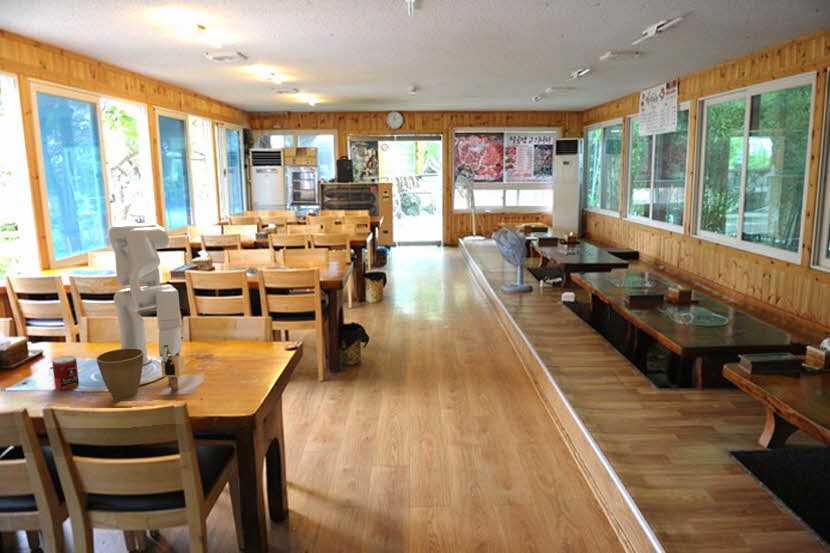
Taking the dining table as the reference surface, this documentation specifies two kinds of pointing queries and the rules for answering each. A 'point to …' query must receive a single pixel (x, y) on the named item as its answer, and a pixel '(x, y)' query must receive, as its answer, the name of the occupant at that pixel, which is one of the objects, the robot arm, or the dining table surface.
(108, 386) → the plant pot
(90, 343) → the dining table surface
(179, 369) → the wooden block
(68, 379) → the canned food
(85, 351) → the dining table surface
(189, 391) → the junction board
